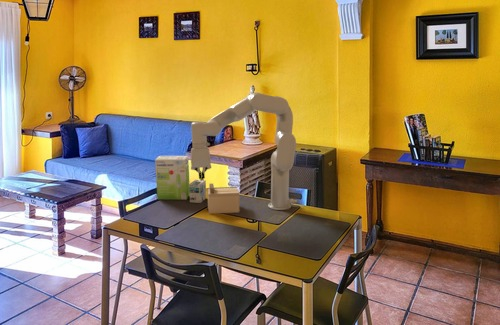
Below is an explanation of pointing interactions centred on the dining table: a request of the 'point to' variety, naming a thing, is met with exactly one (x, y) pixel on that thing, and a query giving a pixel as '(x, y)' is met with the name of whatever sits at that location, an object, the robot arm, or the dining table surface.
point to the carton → (223, 202)
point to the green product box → (172, 177)
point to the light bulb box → (197, 191)
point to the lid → (221, 190)
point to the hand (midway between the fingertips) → (201, 179)
